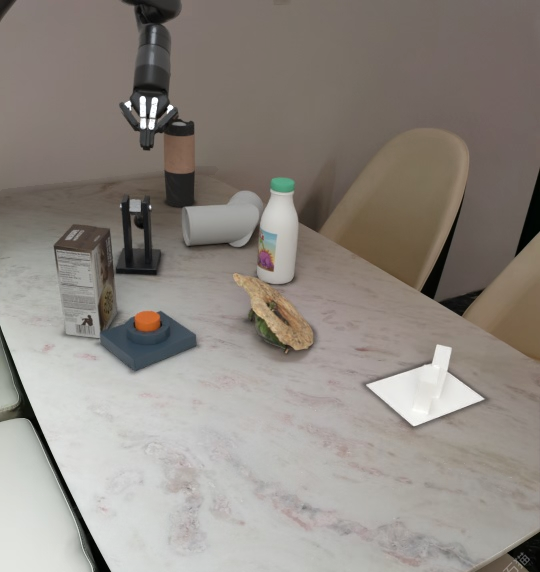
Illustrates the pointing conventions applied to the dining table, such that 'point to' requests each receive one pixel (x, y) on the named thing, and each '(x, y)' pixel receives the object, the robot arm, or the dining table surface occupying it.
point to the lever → (137, 212)
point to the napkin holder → (426, 390)
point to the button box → (147, 342)
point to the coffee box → (86, 280)
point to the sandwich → (275, 315)
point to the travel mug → (179, 163)
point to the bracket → (135, 257)
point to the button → (147, 321)
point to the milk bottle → (278, 234)
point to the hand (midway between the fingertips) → (146, 148)
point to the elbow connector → (223, 221)
